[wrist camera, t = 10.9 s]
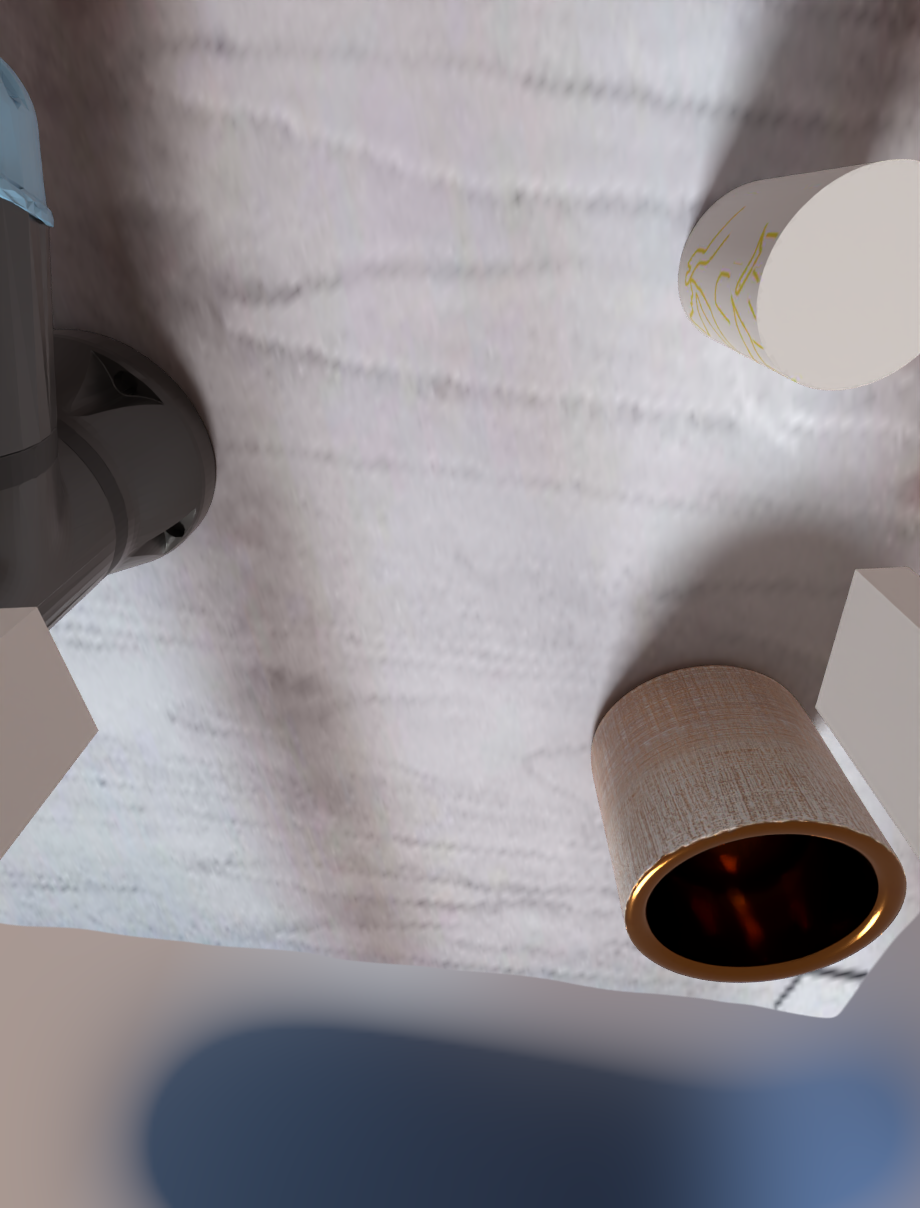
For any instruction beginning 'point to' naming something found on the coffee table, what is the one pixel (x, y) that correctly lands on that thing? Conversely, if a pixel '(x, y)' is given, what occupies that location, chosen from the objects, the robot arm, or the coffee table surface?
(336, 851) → the coffee table surface
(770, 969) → the planter
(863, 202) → the beige cylinder
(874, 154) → the coffee table surface
